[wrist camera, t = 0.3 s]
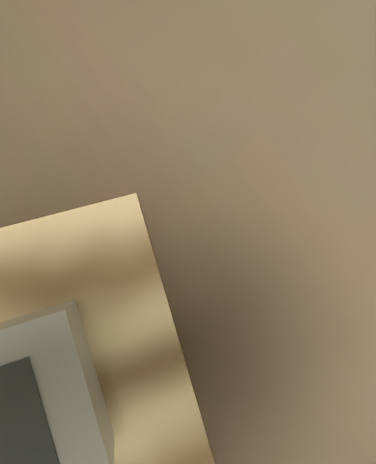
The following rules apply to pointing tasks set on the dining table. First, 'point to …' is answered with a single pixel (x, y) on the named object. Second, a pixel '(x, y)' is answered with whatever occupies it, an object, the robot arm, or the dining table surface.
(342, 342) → the dining table surface
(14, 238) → the striped wooden cutting board
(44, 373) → the block
